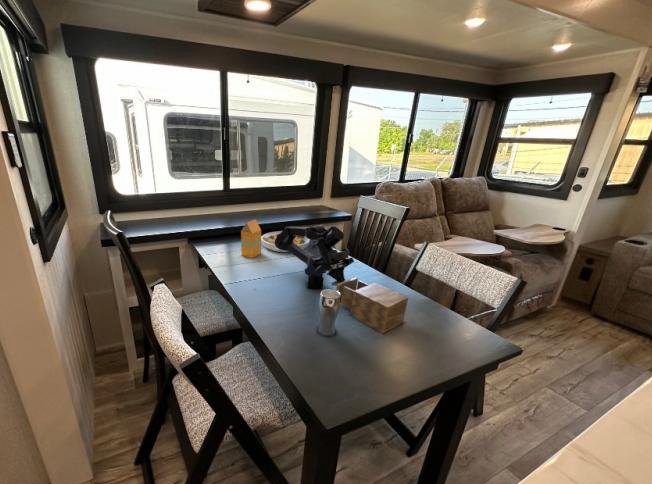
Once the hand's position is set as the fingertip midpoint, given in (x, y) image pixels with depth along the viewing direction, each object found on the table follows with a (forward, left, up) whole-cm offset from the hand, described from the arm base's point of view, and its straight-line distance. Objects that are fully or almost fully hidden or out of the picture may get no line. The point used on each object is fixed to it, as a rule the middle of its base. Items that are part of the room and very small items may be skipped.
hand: (343, 284), depth 128 cm
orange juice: (-45, +50, -8) cm, 67 cm away
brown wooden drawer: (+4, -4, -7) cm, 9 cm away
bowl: (-26, +68, -8) cm, 73 cm away
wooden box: (+11, -13, -7) cm, 19 cm away
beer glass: (-9, -23, -8) cm, 26 cm away
